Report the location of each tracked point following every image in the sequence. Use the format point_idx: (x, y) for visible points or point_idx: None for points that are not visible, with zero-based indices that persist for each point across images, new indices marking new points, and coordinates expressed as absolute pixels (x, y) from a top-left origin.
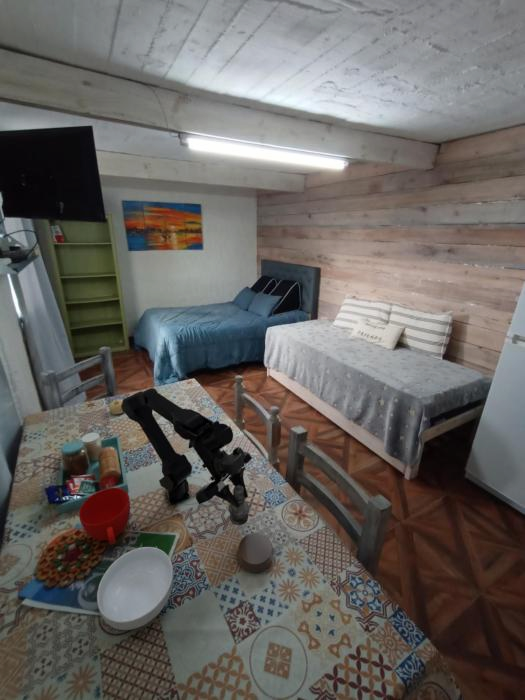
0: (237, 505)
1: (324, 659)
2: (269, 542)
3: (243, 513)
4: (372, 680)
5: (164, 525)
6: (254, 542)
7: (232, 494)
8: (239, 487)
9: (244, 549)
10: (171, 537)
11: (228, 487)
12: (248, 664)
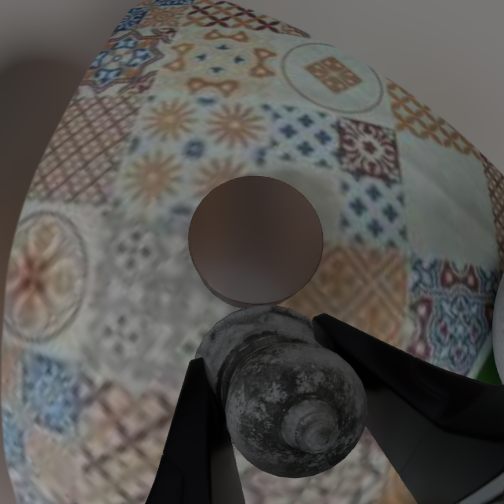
0: (337, 319)
1: (264, 38)
2: (197, 219)
3: (267, 316)
4: (225, 8)
5: None
6: (247, 254)
7: (396, 387)
8: (304, 411)
9: (297, 256)
10: None
11: (498, 424)
12: (383, 99)
